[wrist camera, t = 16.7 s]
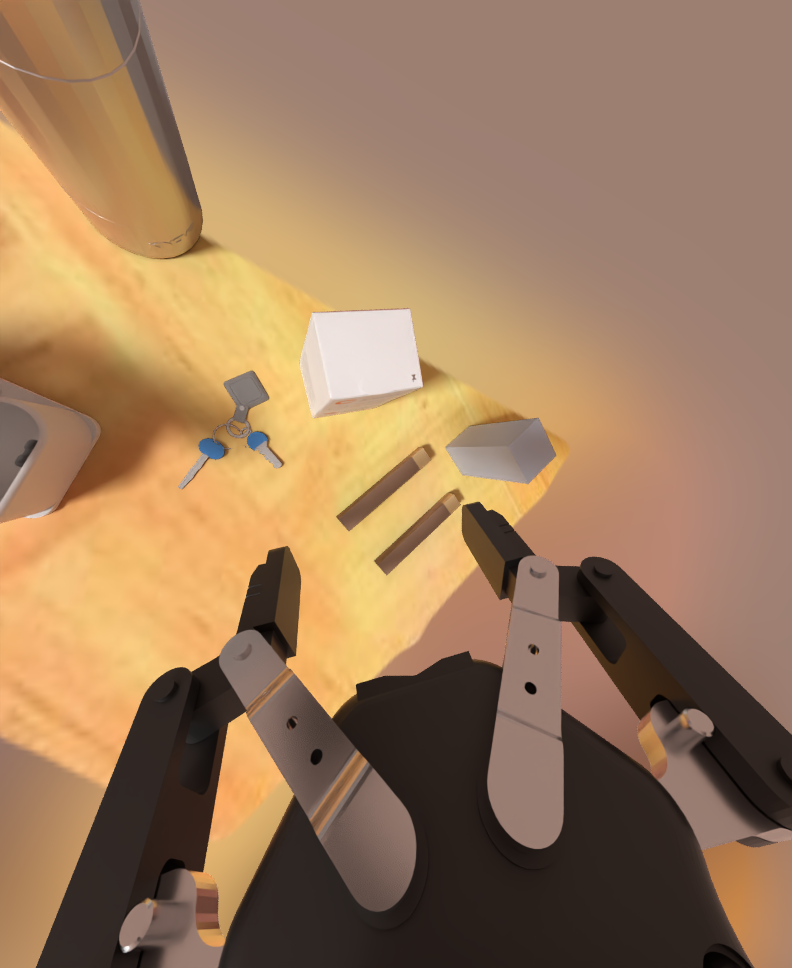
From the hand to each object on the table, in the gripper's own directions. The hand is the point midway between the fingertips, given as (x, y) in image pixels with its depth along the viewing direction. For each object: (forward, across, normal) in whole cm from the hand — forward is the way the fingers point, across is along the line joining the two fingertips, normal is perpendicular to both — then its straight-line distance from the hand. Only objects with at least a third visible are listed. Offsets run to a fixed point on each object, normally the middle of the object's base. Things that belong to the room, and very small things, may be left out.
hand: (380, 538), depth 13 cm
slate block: (+25, -15, +11) cm, 32 cm away
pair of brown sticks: (+20, -4, +15) cm, 26 cm away
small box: (+26, 0, -1) cm, 26 cm away
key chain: (+22, +11, +2) cm, 25 cm away
